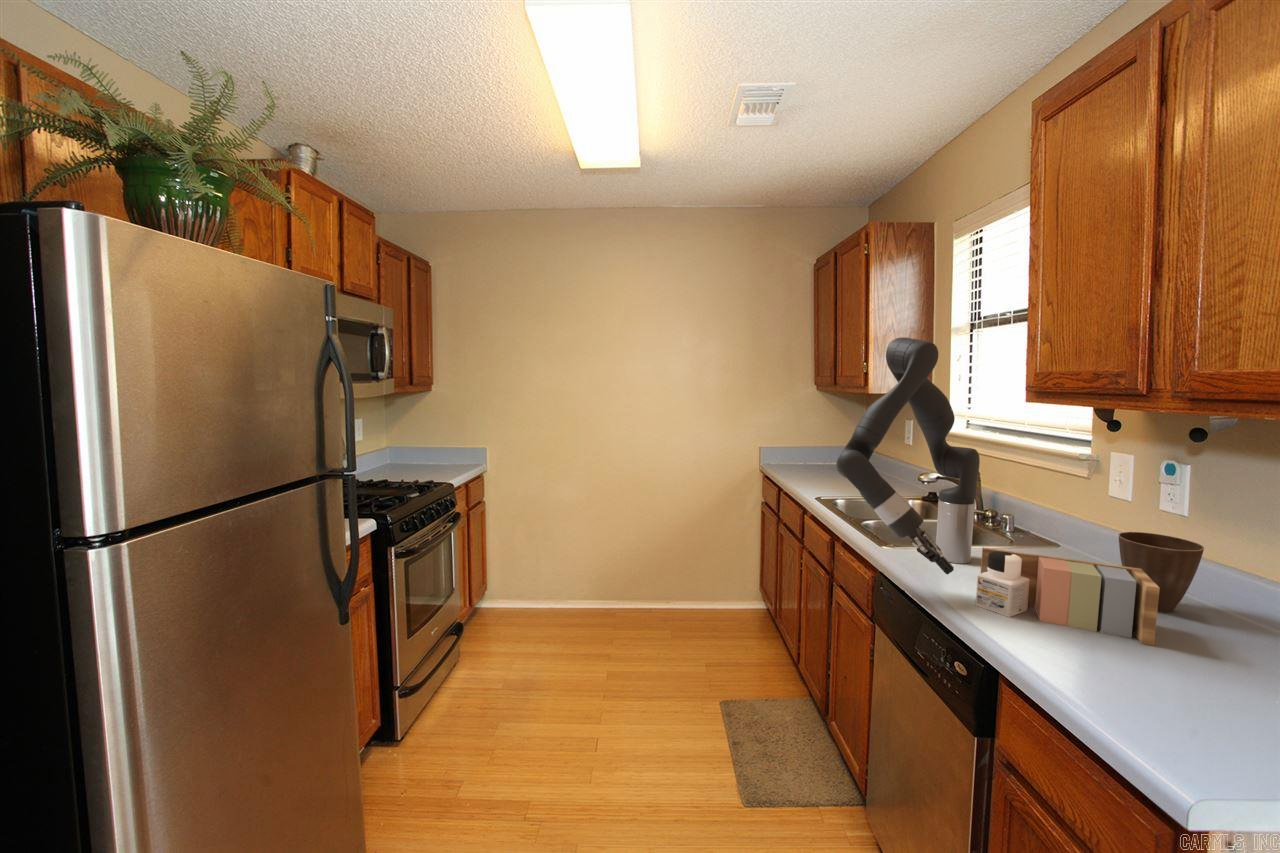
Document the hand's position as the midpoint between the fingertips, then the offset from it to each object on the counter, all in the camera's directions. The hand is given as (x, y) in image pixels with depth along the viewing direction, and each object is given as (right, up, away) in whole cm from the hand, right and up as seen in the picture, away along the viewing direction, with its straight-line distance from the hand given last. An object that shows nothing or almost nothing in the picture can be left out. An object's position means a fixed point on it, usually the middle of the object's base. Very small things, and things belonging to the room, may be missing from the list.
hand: (950, 571), depth 139 cm
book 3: (+27, -9, -14) cm, 32 cm away
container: (+9, -8, -5) cm, 13 cm away
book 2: (+22, -8, -11) cm, 26 cm away
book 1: (+18, -8, -8) cm, 21 cm away
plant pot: (+47, -8, -2) cm, 48 cm away
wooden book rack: (+19, -8, -10) cm, 23 cm away
